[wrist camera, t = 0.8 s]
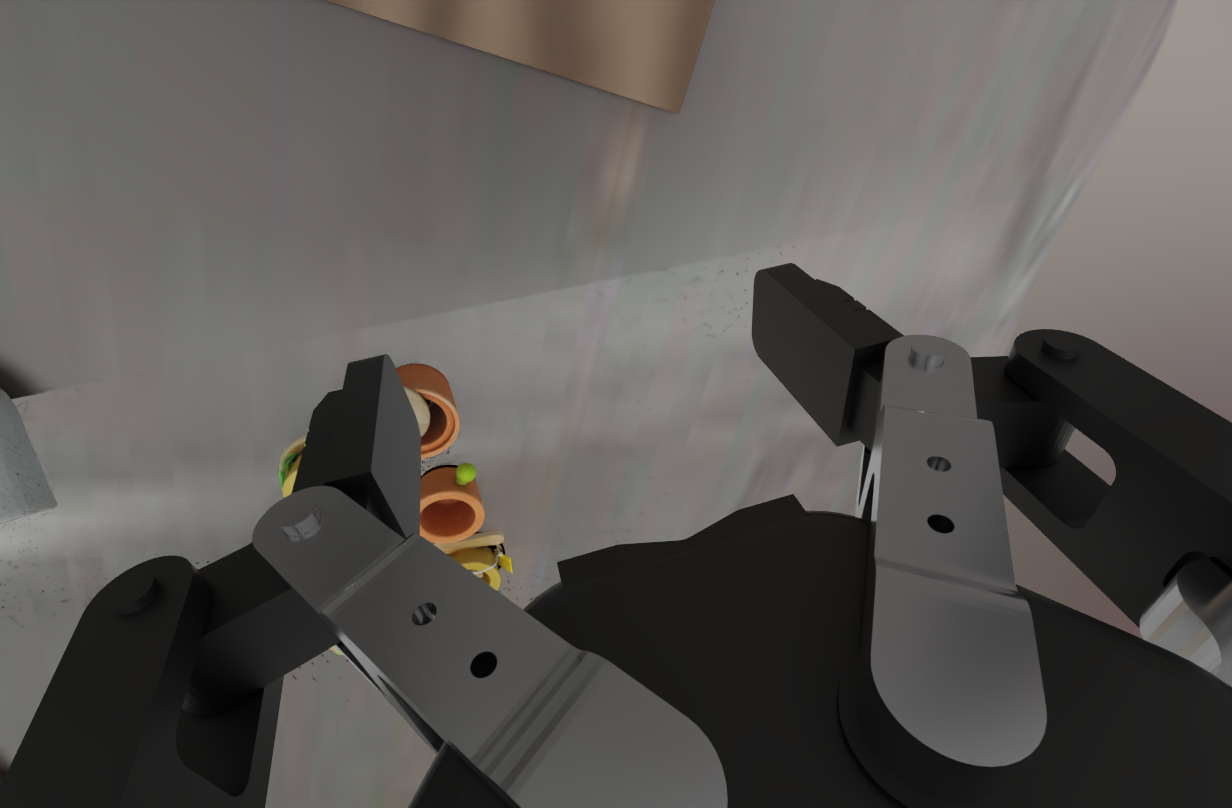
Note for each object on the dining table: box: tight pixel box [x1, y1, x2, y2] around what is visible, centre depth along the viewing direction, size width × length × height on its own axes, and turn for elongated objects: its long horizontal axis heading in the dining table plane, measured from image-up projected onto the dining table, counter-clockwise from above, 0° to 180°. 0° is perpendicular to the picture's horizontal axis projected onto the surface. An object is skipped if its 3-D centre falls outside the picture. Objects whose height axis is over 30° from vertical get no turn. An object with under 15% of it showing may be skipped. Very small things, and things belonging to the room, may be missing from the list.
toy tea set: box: [279, 364, 513, 655], centre depth 42 cm, size 26×16×10 cm, turn 1°
